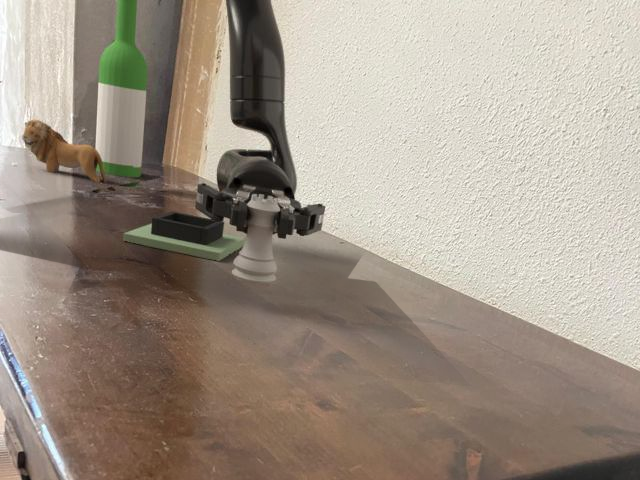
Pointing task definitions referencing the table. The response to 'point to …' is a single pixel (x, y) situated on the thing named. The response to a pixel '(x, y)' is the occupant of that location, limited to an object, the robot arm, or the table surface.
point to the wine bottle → (122, 99)
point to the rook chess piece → (258, 244)
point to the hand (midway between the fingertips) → (263, 223)
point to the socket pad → (186, 236)
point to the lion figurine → (61, 151)
